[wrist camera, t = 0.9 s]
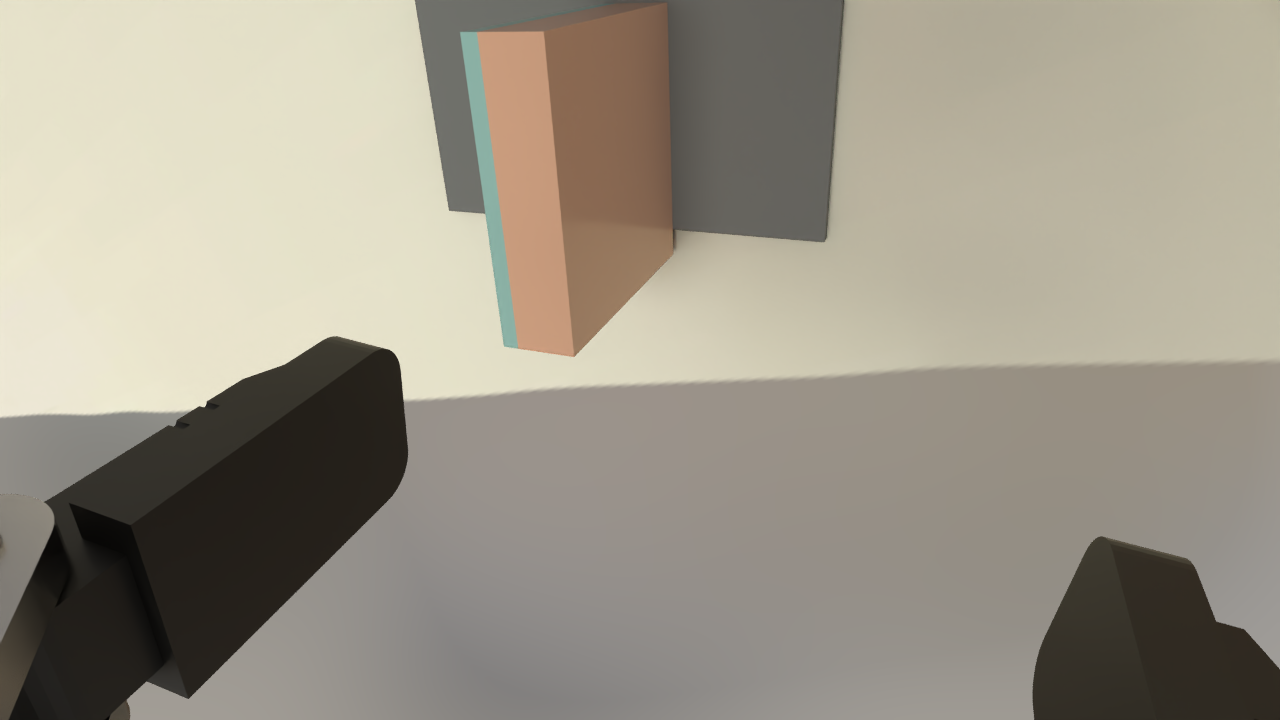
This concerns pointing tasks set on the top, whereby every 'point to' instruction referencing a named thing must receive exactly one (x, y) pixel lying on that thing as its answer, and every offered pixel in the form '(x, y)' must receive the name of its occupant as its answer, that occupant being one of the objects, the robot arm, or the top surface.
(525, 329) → the tile
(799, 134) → the mat
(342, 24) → the top surface
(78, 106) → the top surface
